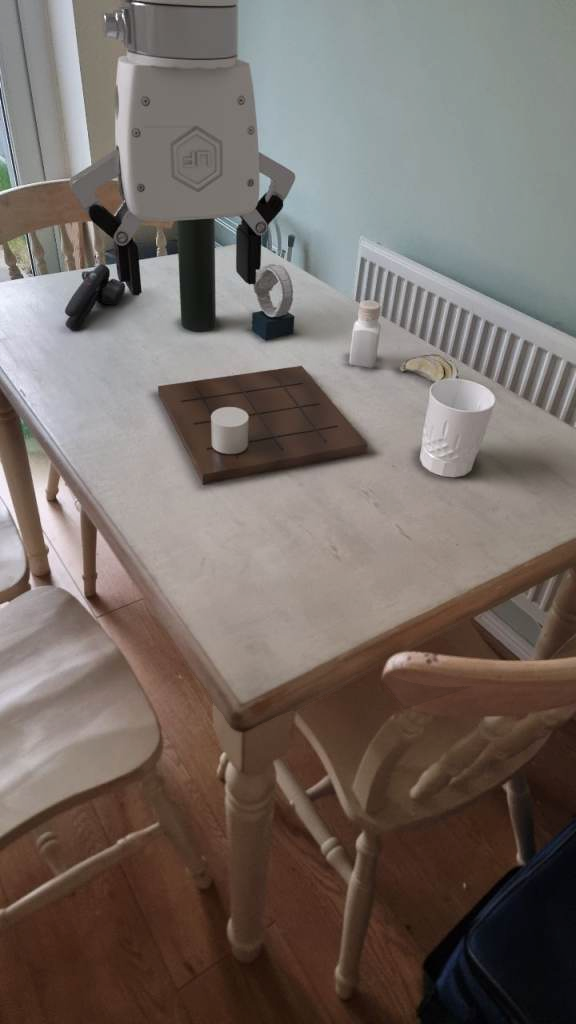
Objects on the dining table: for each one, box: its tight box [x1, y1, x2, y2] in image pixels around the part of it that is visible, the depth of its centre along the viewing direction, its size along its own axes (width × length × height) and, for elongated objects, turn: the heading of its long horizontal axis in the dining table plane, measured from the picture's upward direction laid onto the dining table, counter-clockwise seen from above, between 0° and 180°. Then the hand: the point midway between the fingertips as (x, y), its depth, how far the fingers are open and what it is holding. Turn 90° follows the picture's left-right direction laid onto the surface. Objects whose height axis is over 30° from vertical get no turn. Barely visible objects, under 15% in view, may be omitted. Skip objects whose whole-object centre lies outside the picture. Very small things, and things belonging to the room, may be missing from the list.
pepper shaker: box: [348, 299, 382, 368], centre depth 107 cm, size 4×4×10 cm
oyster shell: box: [399, 353, 459, 384], centre depth 105 cm, size 6×4×10 cm
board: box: [157, 365, 368, 485], centre depth 94 cm, size 22×22×2 cm
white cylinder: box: [211, 407, 249, 454], centre depth 86 cm, size 5×5×4 cm
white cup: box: [419, 378, 497, 478], centre depth 86 cm, size 8×8×10 cm
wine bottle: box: [176, 218, 217, 333], centre depth 107 cm, size 6×6×30 cm
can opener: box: [64, 264, 126, 330], centre depth 117 cm, size 18×7×6 cm, turn 169°
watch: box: [251, 263, 296, 342], centre depth 113 cm, size 6×8×11 cm
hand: (190, 283), depth 58 cm, fingers open, 9 cm apart
